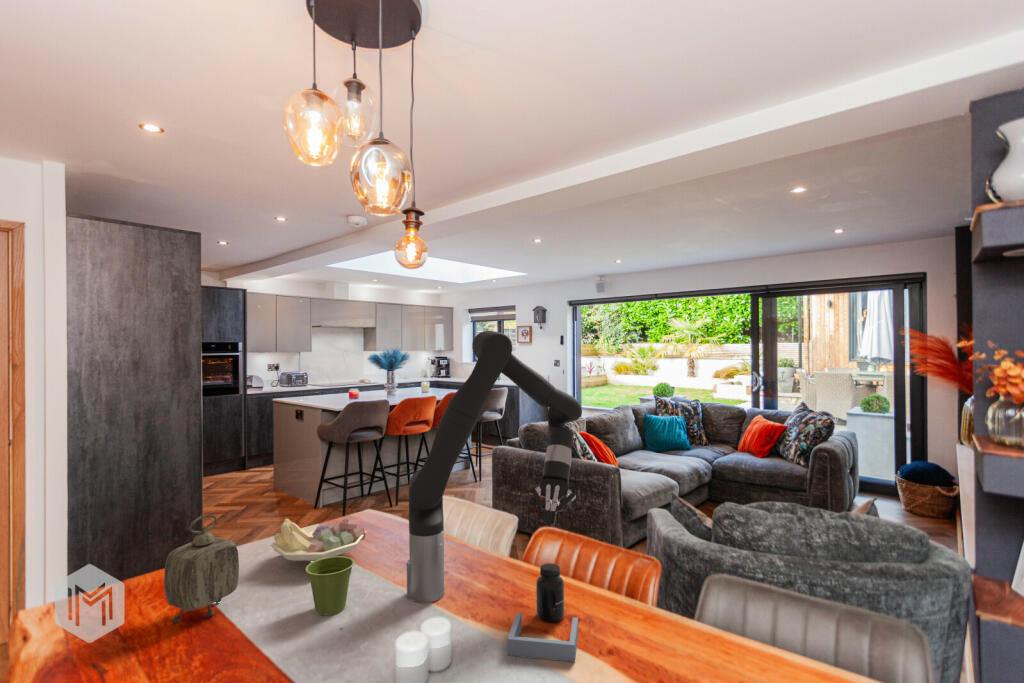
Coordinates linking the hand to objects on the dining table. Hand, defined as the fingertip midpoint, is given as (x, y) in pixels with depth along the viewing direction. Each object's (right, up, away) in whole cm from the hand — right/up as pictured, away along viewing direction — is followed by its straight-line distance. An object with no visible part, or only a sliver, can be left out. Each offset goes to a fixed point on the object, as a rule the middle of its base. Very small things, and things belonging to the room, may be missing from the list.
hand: (549, 526), depth 137 cm
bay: (-3, -18, -23) cm, 29 cm away
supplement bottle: (-1, -18, -12) cm, 22 cm away
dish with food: (-71, -20, +25) cm, 78 cm away
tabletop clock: (-87, -20, -9) cm, 90 cm away
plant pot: (-57, -19, -6) cm, 60 cm away
